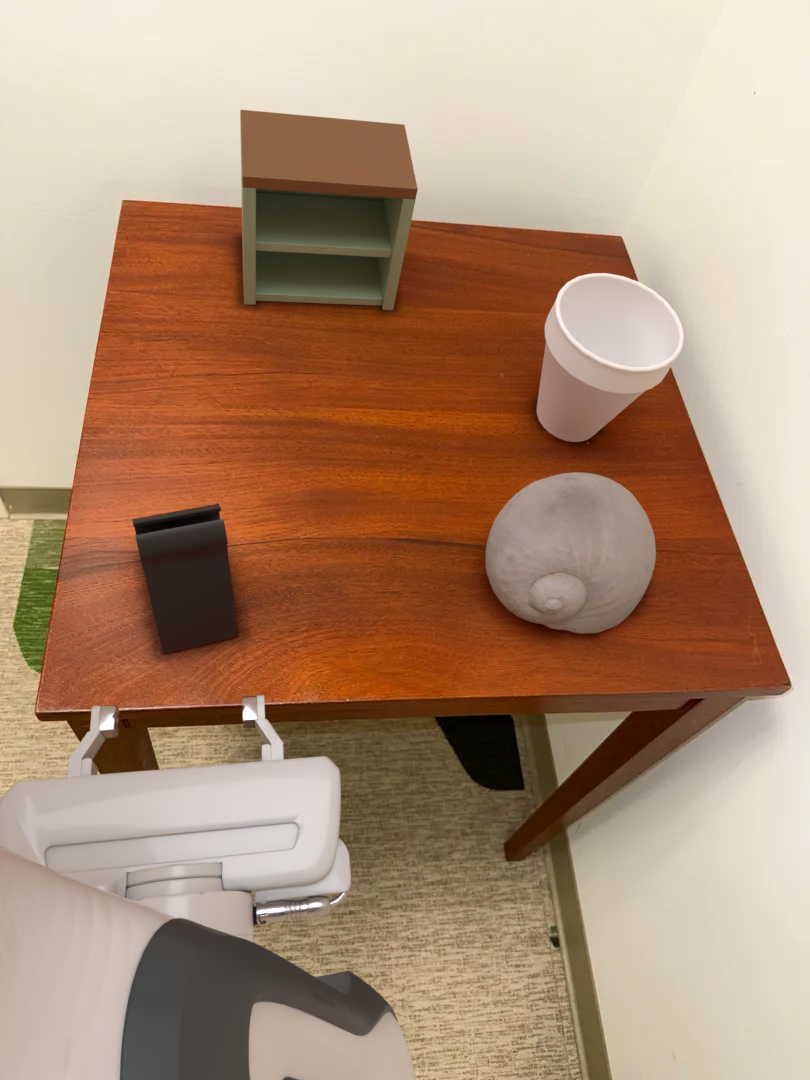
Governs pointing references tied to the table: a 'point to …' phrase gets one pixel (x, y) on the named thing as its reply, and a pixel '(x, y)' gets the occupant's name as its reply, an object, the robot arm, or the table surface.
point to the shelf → (324, 208)
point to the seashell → (571, 553)
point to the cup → (603, 352)
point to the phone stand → (188, 576)
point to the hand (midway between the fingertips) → (181, 702)
